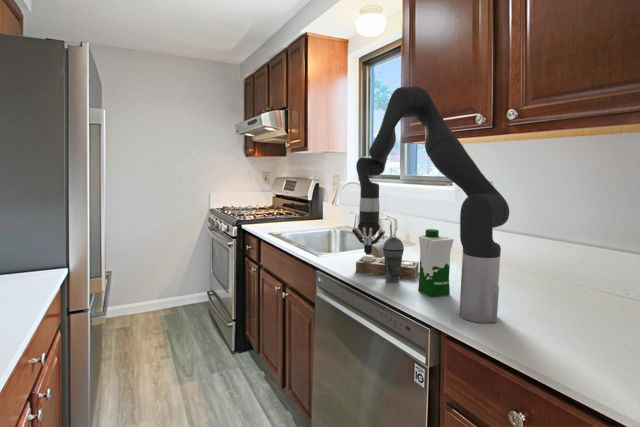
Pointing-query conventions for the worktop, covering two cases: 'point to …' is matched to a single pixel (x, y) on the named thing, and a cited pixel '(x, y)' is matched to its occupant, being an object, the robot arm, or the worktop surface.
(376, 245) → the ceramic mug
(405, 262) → the button
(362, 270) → the board
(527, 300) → the worktop surface
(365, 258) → the button
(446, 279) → the milk carton
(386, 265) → the beverage cup
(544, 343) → the worktop surface
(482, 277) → the robot arm
